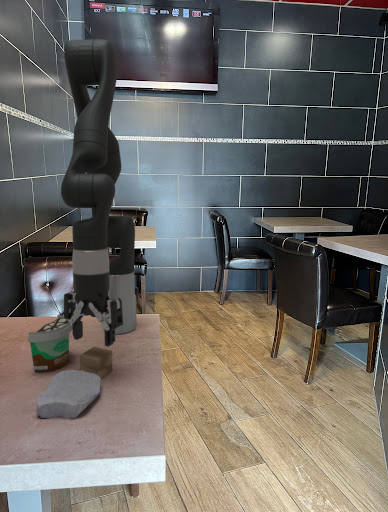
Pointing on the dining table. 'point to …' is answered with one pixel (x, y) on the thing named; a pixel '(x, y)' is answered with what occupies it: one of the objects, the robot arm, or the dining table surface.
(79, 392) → the stone block
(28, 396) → the dining table surface
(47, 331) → the food container
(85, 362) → the walnut block
